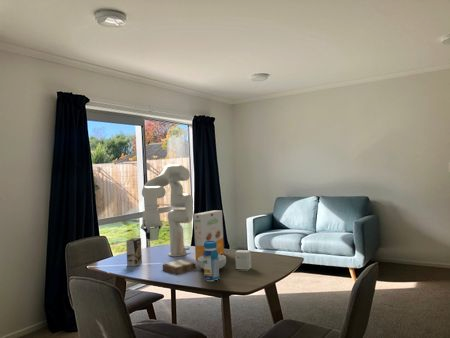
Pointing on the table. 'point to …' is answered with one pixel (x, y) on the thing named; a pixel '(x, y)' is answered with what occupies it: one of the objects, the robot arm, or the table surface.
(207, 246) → the beverage bottle
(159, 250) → the table surface
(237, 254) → the small box
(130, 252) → the coffee box
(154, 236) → the block
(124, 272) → the table surface
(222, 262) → the cereal bowl
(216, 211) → the cereal box
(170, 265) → the base
